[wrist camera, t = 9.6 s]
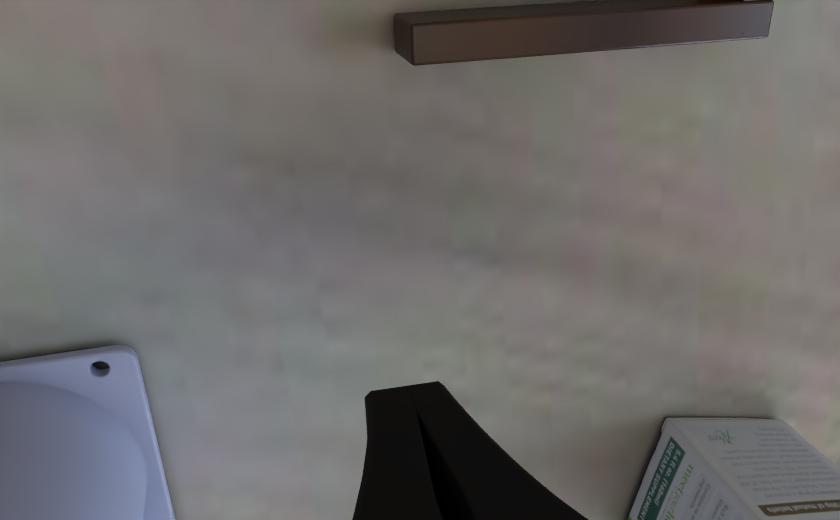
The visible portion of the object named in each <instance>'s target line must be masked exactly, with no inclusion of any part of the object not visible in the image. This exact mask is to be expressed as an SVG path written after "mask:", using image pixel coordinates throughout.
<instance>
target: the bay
mask: <svg viewBox="0 0 840 520" xmlns="http://www.w3.org/2000/svg"><path fill="white" fill-rule="evenodd" d="M773 4H774V2H773V0H603V1H588V2H572V3H556V4H540V5H524V6H509V7H493V8H477V9H461V10H445V11H430V12H414V13H398V14H395V15H394V38H395V51H396V52H397V53H398V54H399V55H401V56H402V57H403V58H404V59H406V60H407V61H408V62H409V63H411V64H412V65H414V66H416V65H429V64H442V63H454V62H467V61H480V60H492V59H505V58H518V57H530V56H543V55H556V54H568V53H581V52H594V51H607V50H619V49H632V48H645V47H657V46H670V45H683V44H695V43H708V42H721V41H733V40H746V39H759V38H766V37H767V36H768V33H769V28H770V22H771V16H772V10H773Z"/></svg>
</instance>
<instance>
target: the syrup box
mask: <svg viewBox="0 0 840 520" xmlns="http://www.w3.org/2000/svg"><path fill="white" fill-rule="evenodd" d="M661 433H662V435H661V438H660V440H659V442H658V444H657V447H656V450H655V452H654V454H653V456H652V458H651V461H650V463H649V466H648V468H647V471H646V473H645V476H644V478H643V481H642V484H641V486H640V489H639V491H638V494H637V496H636V499H635V502H634V504H633V507H632V509H631V512H630V515H629V517H628V519H627V520H840V469H839V468H837V467H836V466H835V465H834V464H833V463H832V462H831V461H830V460H829V459H827V458H826V457H825V456H824V455H823V454H822V453H820V452H819V451H818V450H817V449H816V448H815V447H814V446H812V445H811V444H810V443H809V442H808V441H807V440H806V439H804V438H803V437H802V436H801V435H800V434H799V433H797V432H796V431H795V430H794V429H793V428H792V427H791V426H789V425H788V424H787V423H786V422H784V421H782V420H776V419H757V418H667V419H666V420H665V421H664V424H663V426H662V429H661Z"/></svg>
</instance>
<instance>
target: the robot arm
mask: <svg viewBox="0 0 840 520" xmlns="http://www.w3.org/2000/svg"><path fill="white" fill-rule="evenodd" d="M96 361H103V362H105V363H107V364H108V366H109V367H108V368H106V369H97V368H95V367H94V366H93V365H92V363H94V362H96ZM365 408H366V422H367V448H366V455H365V462H364V469H363V476H362V481H361V485H360V490H359V494H358V499H357V503H356V507H355V512H354V516H353V519H352V520H588V519H587V518H585V517H584V516H582V515H581V514H580V513H578V512H577V511H575V510H574V509H573V508H571V507H570V506H569V505H567V504H566V503H565V502H563V501H562V500H561V499H559V498H558V497H557V496H556V495H554V494H553V493H552V492H550V491H549V490H548V489H547V488H546V487H544V486H543V485H542V484H541V483H540V482H538V481H537V480H536V479H535V478H534V477H533V476H531V475H530V474H529V473H528V472H527V471H526V470H524V469H523V468H522V467H521V466H520V465H519V464H518V463H517V462H516V461H515V460H513V459H512V458H511V457H510V456H509V455H508V454H507V453H506V452H505V451H504V450H503V449H502V448H501V447H500V446H499V445H498V444H497V443H496V442H495V441H494V440H493V439H492V438H491V437H490V436H489V435H488V434H487V433H486V432H485V431H484V430H483V429H482V428H481V427H480V426H479V425H478V424H477V423H476V422H475V421H474V420H473V418H472V417H471V416H470V415H469V414H468V413H467V412H466V411H465V410H464V409H463V407H462V406H461V405H460V404H459V403H458V402H457V401H456V399H455V398H454V397H453V396H452V395H451V394H450V392H449V391H448V390H447V389H446V387H445V386H444V385H442V384H441V383H440V382H439V381H437V382H430V383H423V384H416V385H409V386H403V387H396V388H389V389H382V390H375V391H371V392H370V393H369V394H368V395H367V396H366V397H365ZM0 520H176V519H175V515H174V511H173V506H172V502H171V498H170V493H169V489H168V485H167V480H166V476H165V472H164V467H163V463H162V459H161V454H160V450H159V446H158V442H157V437H156V433H155V429H154V424H153V420H152V416H151V411H150V407H149V403H148V398H147V394H146V390H145V385H144V381H143V377H142V372H141V368H140V364H139V359H138V356H137V354H136V352H135V351H134V350H133V349H132V348H130V347H128V346H125V345H112V346H105V347H98V348H92V349H85V350H78V351H71V352H64V353H58V354H51V355H44V356H37V357H31V358H24V359H17V360H10V361H4V362H0Z"/></svg>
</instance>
